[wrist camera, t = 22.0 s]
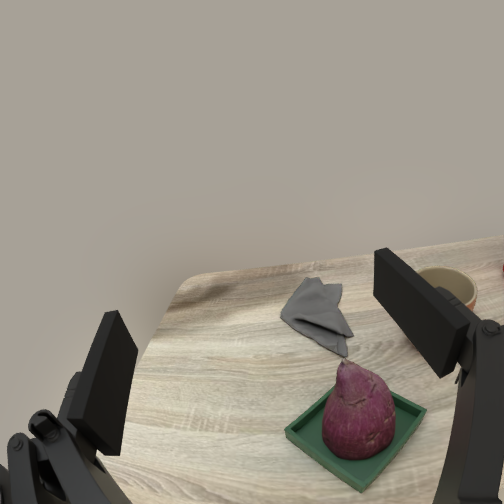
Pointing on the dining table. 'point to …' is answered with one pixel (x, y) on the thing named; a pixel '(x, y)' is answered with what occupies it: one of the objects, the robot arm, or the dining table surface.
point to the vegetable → (358, 414)
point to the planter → (452, 282)
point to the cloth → (318, 314)
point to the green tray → (354, 471)
